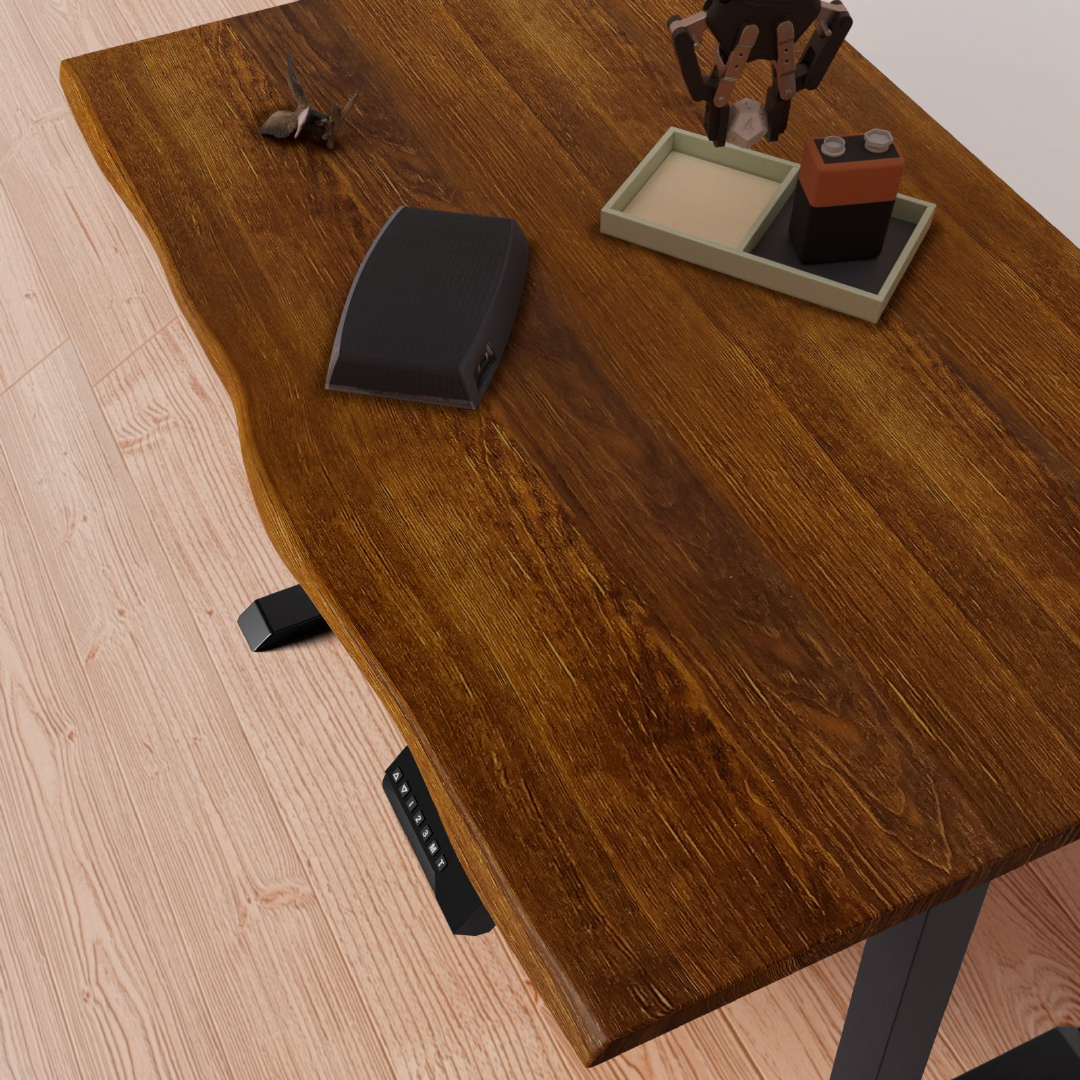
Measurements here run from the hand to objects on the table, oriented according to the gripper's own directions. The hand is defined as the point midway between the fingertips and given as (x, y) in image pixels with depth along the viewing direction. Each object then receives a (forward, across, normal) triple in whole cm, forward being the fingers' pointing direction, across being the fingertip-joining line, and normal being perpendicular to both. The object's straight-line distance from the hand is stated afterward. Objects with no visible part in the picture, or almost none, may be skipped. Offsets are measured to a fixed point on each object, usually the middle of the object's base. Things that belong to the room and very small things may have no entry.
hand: (743, 137), depth 92 cm
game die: (0, 0, 0) cm, 0 cm away
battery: (+8, +7, -6) cm, 12 cm away
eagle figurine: (+8, -35, +20) cm, 41 cm away
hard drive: (+8, -26, -7) cm, 28 cm away
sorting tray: (+8, +2, -2) cm, 9 cm away
